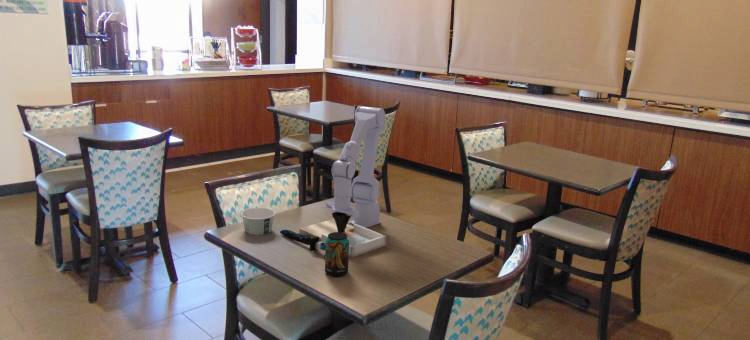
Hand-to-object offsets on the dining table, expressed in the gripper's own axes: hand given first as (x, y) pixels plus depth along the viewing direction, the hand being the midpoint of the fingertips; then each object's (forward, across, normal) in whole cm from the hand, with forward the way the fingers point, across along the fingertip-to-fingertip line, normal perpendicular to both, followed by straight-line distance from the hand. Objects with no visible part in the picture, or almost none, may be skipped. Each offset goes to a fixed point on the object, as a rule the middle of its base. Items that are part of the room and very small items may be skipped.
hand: (341, 232), depth 196 cm
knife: (+3, -2, -13) cm, 13 cm away
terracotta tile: (+2, +3, 0) cm, 3 cm away
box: (+3, +6, 0) cm, 7 cm away
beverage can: (+3, +19, -19) cm, 27 cm away
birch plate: (+3, -7, 0) cm, 8 cm away
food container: (+3, -25, -17) cm, 31 cm away
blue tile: (+2, +7, 0) cm, 8 cm away
